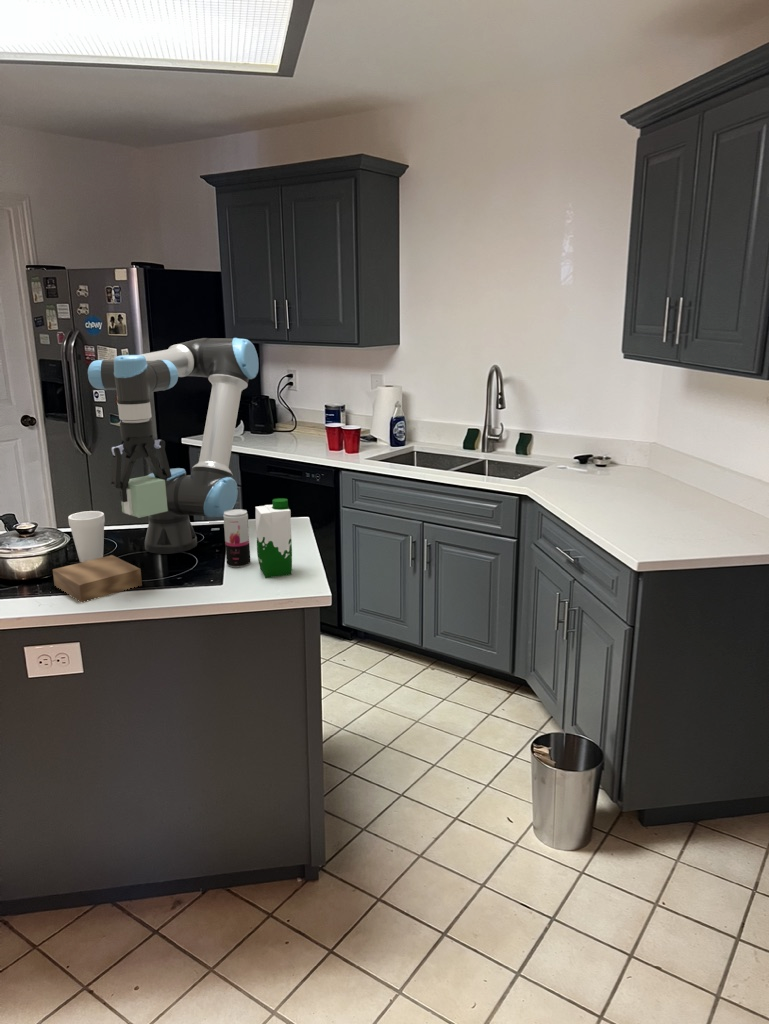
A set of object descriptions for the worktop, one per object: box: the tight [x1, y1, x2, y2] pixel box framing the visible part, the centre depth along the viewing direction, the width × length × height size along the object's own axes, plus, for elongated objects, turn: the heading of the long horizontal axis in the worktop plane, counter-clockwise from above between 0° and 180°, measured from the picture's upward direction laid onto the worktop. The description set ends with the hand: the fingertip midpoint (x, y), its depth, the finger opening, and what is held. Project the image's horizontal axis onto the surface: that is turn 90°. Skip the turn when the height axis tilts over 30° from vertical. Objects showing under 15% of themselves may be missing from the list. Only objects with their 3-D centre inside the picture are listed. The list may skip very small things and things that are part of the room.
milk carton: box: [254, 497, 293, 579], centre depth 200 cm, size 9×9×20 cm
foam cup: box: [67, 510, 106, 563], centre depth 213 cm, size 10×9×13 cm
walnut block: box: [52, 554, 143, 603], centre depth 194 cm, size 16×16×5 cm
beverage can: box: [222, 508, 251, 568], centre depth 208 cm, size 6×7×15 cm
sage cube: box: [120, 475, 168, 519], centre depth 188 cm, size 8×8×8 cm
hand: (144, 510), depth 189 cm, fingers closed on sage cube, 8 cm apart
